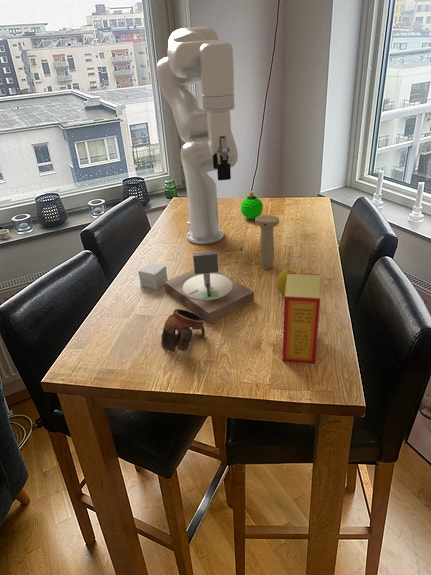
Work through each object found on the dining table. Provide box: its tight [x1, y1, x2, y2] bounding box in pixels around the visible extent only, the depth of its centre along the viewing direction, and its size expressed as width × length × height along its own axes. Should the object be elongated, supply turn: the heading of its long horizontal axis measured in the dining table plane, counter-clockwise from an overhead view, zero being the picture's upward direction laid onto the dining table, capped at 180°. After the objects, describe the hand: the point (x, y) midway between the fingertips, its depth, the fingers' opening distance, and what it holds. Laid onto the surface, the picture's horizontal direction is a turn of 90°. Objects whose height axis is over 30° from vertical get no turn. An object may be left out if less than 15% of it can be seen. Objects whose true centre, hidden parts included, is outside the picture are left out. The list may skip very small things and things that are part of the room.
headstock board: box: [164, 269, 255, 324], centre depth 110 cm, size 20×14×3 cm
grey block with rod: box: [192, 250, 219, 297], centre depth 104 cm, size 6×7×9 cm
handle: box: [254, 214, 280, 270], centre depth 118 cm, size 5×6×15 cm
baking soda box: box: [282, 272, 321, 364], centre depth 87 cm, size 10×6×16 cm
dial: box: [183, 274, 233, 300], centre depth 109 cm, size 13×13×1 cm
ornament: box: [240, 190, 264, 220], centre depth 152 cm, size 8×8×10 cm
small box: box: [137, 262, 169, 291], centre depth 117 cm, size 6×6×5 cm
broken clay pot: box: [160, 308, 206, 353], centre depth 93 cm, size 12×10×8 cm
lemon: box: [276, 268, 297, 296], centre depth 106 cm, size 6×6×8 cm
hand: (221, 173), depth 109 cm, fingers open, 9 cm apart
